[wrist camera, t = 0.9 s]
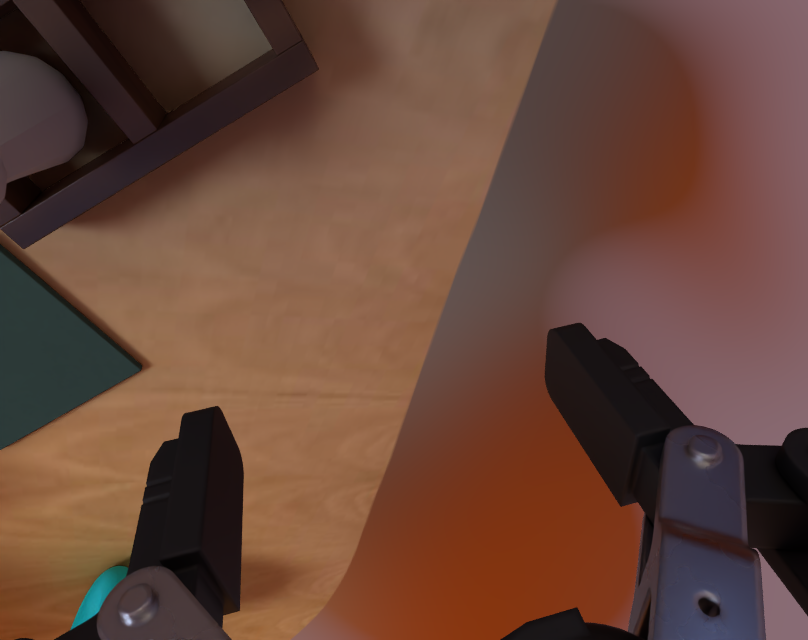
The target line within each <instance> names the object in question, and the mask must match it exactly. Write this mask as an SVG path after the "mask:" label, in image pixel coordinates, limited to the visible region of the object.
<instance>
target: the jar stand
mask: <svg viewBox="0 0 808 640" xmlns="http://www.w3.org/2000/svg"><path fill="white" fill-rule="evenodd" d="M244 1H245V3H246V4H247V6H248V8H249V9H250V11H251V13H252V14H253V16H254V18H255V20H256V21H257V23H258V25H259V26H260V28H261V30H262V31H263V33H264V35H265V36H266V38H267V40H268V41H269V43H270V45H271V46H272V48H273V49H272V50H270V51H268V52H267V53H265V54H263V55H262V56H260V57H259V58H257V59H255V60H254V61H252V62H251V63H249V64H247V65H246V66H244V67H243V68H241V69H239V70H238V71H236V72H234V73H233V74H231V75H230V76H228V77H226V78H225V79H223V80H222V81H220V82H218V83H217V84H215V85H214V86H212V87H210V88H209V89H207V90H205V91H204V92H202V93H201V94H199V95H197V96H196V97H194V98H193V99H191V100H189V101H188V102H186V103H185V104H183V105H181V106H180V107H178V108H176V109H175V110H173V111H172V112H170V113H168V114H167V115H166V112H165V111H164V110H163V108H162V107H161V106H160V105H159V103H158V102H157V101H156V99H155V98H154V97H153V96H152V94H151V93H150V92H149V90H148V89H147V88H146V87H145V85H144V84H143V83H142V81H141V80H140V79H139V77H138V76H137V75H136V74H135V72H134V71H133V70H132V68H131V67H130V66H129V65H128V63H127V62H126V61H125V59H124V58H123V57H122V55H121V54H120V53H119V52H118V50H117V49H116V48H115V46H114V45H113V44H112V43H111V41H110V40H109V39H108V37H107V36H106V35H105V33H104V32H103V31H102V30H101V28H100V27H99V26H98V24H97V23H96V22H95V21H94V19H93V18H92V17H91V15H90V14H89V13H88V11H87V10H86V9H85V8H84V6H83V5H82V4H81V2H80V1H79V0H0V19H2V18H3V17H5V16H6V15H8V14H9V13H11V12H12V11H14V10H15V9H17V8H19V9H20V11H21V12H22V13H23V14H24V15H25V17H26V18H27V19H28V20H29V21H30V22H31V24H32V25H33V26H34V27H35V28H36V30H37V31H38V32H39V33H40V34H41V35H42V37H43V38H44V39H45V40H46V41H47V43H48V44H49V45H50V46H51V47H52V48H53V50H54V51H55V52H56V53H57V54H58V56H59V57H60V58H61V59H62V60H63V61H64V63H65V64H66V65H67V66H68V67H69V69H70V70H71V71H72V72H73V73H74V74H75V76H76V77H77V78H78V79H79V80H80V82H81V83H82V84H83V85H84V86H85V87H86V89H87V90H88V91H89V92H90V93H91V95H92V96H93V97H94V98H95V99H96V100H97V102H98V103H99V104H100V105H101V106H102V108H103V109H104V110H105V111H106V112H107V113H108V115H109V116H110V117H111V118H112V119H113V121H114V122H115V123H116V124H117V125H118V126H119V128H120V129H121V130H122V131H123V132H124V134H125V135H126V136H127V137H128V139H127V140H125V141H123V142H122V143H120V144H118V145H117V146H115V147H114V148H112V149H110V150H109V151H107V152H106V153H104V154H102V155H101V156H99V157H97V158H96V159H94V160H93V161H91V162H89V163H88V164H86V165H85V166H83V167H81V168H80V169H78V170H77V171H75V172H73V173H72V174H70V175H68V176H67V177H65V178H64V179H62V180H60V181H59V182H57V183H56V184H54V185H52V186H51V187H49V188H48V189H46V190H44V191H43V192H42V191H41V190H40V189H39V188H38V187H37V186H36V185H35V184H34V183H33V182H32V181H31V180H30V179H29V178H28V177H27V176H24V177H21V178H19V179H16V180H14V181H11V182H9V183H7V185H6V193H5V198H4V199H3V201H2V202H1V203H0V229H1V230H2V231H3V232H4V233H5V234H7V235H8V236H9V237H10V238H11V239H12V240H13V241H15V242H16V243H17V244H18V245H19V246H20V247H21V248H23V249H25V248H27V247H29V246H30V245H32V244H34V243H35V242H37V241H39V240H40V239H42V238H43V237H45V236H47V235H48V234H50V233H52V232H53V231H55V230H57V229H58V228H60V227H61V226H63V225H65V224H66V223H68V222H70V221H71V220H73V219H75V218H76V217H78V216H80V215H81V214H83V213H84V212H86V211H88V210H89V209H91V208H93V207H94V206H96V205H98V204H99V203H101V202H102V201H104V200H106V199H107V198H109V197H111V196H112V195H114V194H116V193H117V192H119V191H121V190H122V189H124V188H125V187H127V186H129V185H130V184H132V183H134V182H135V181H137V180H139V179H140V178H142V177H143V176H145V175H147V174H148V173H150V172H152V171H153V170H155V169H157V168H158V167H160V166H162V165H163V164H165V163H166V162H168V161H170V160H171V159H173V158H175V157H176V156H178V155H180V154H181V153H183V152H184V151H186V150H188V149H189V148H191V147H193V146H194V145H196V144H198V143H199V142H201V141H203V140H204V139H206V138H207V137H209V136H211V135H212V134H214V133H216V132H217V131H219V130H221V129H222V128H224V127H225V126H227V125H229V124H230V123H232V122H234V121H235V120H237V119H239V118H240V117H242V116H244V115H245V114H247V113H248V112H250V111H252V110H253V109H255V108H257V107H258V106H260V105H262V104H263V103H265V102H266V101H268V100H270V99H271V98H273V97H275V96H276V95H278V94H280V93H281V92H283V91H285V90H286V89H288V88H289V87H291V86H293V85H294V84H296V83H298V82H299V81H301V80H303V79H304V78H306V77H307V76H309V75H311V74H312V73H314V72H316V71H317V70H318V69H319V68H318V66H317V64H316V62H315V60H314V58H313V56H312V54H311V52H310V50H309V49H308V47H307V45H306V43H305V41H304V40H303V38H302V36H301V34H300V33H299V31H298V29H297V27H296V25H295V23H294V22H293V20H292V18H291V16H290V14H289V12H288V11H287V9H286V7H285V5H284V3H283V2H282V0H244Z"/></svg>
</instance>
